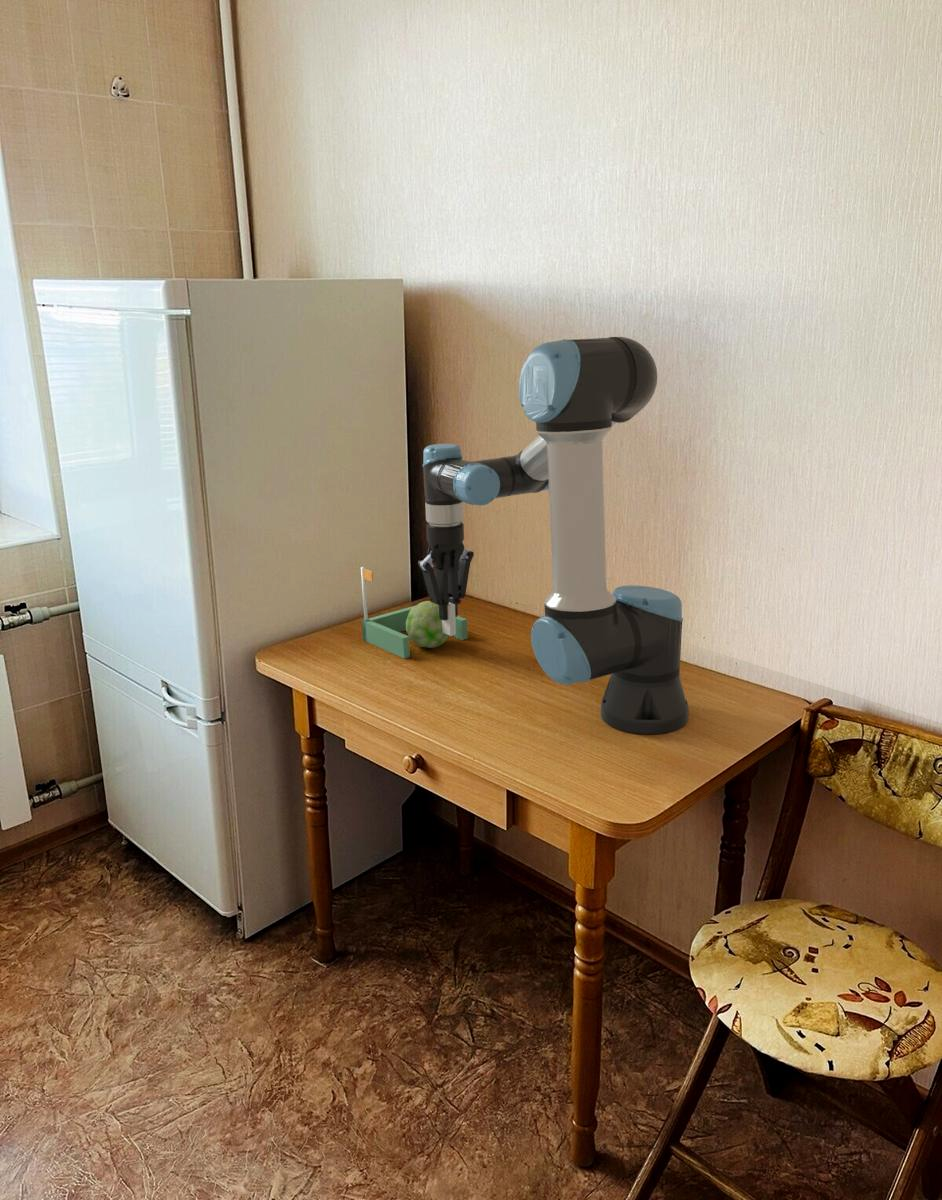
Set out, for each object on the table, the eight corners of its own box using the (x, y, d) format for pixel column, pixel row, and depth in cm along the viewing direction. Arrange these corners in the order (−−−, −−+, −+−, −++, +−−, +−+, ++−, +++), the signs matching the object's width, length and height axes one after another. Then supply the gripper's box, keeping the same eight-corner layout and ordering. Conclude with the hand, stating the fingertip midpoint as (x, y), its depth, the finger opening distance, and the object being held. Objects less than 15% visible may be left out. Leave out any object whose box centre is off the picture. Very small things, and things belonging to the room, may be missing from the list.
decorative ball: (458, 651, 200) (456, 606, 197) (411, 657, 198) (408, 611, 195) (447, 636, 209) (445, 592, 206) (403, 641, 207) (400, 597, 204)
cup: (467, 638, 208) (465, 565, 202) (404, 658, 197) (400, 582, 192) (424, 621, 219) (421, 552, 214) (362, 639, 209) (357, 567, 204)
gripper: (458, 514, 197) (462, 621, 204) (407, 525, 189) (413, 636, 197) (481, 519, 192) (484, 630, 199) (430, 531, 184) (435, 645, 191)
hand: (449, 633), depth 198 cm, fingers closed
